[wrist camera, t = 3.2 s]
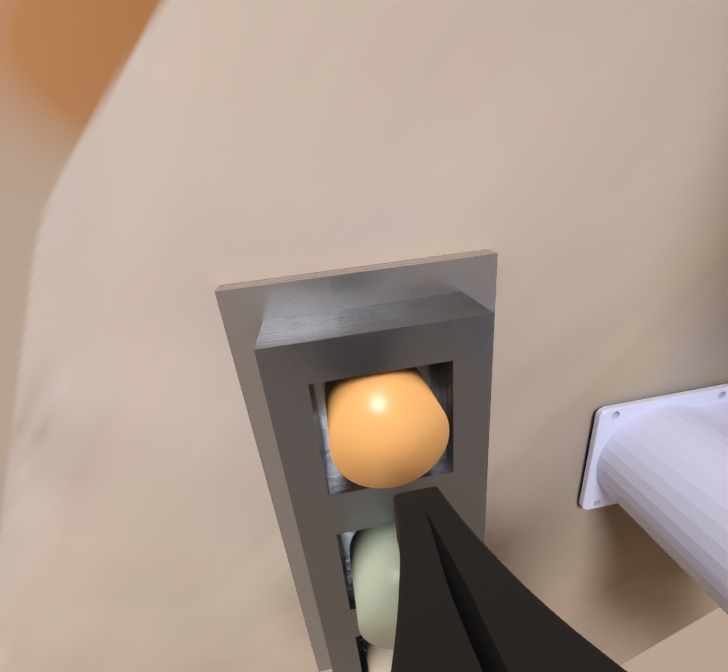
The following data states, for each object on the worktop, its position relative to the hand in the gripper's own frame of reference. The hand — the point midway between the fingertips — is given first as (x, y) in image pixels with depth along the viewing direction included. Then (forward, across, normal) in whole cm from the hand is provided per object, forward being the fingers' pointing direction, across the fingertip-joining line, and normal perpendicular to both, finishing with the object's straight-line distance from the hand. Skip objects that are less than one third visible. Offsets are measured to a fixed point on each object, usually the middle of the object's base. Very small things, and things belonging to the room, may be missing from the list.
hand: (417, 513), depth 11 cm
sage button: (+5, 0, +8) cm, 9 cm away
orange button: (+7, 0, 0) cm, 7 cm away
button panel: (+8, 0, +8) cm, 11 cm away
